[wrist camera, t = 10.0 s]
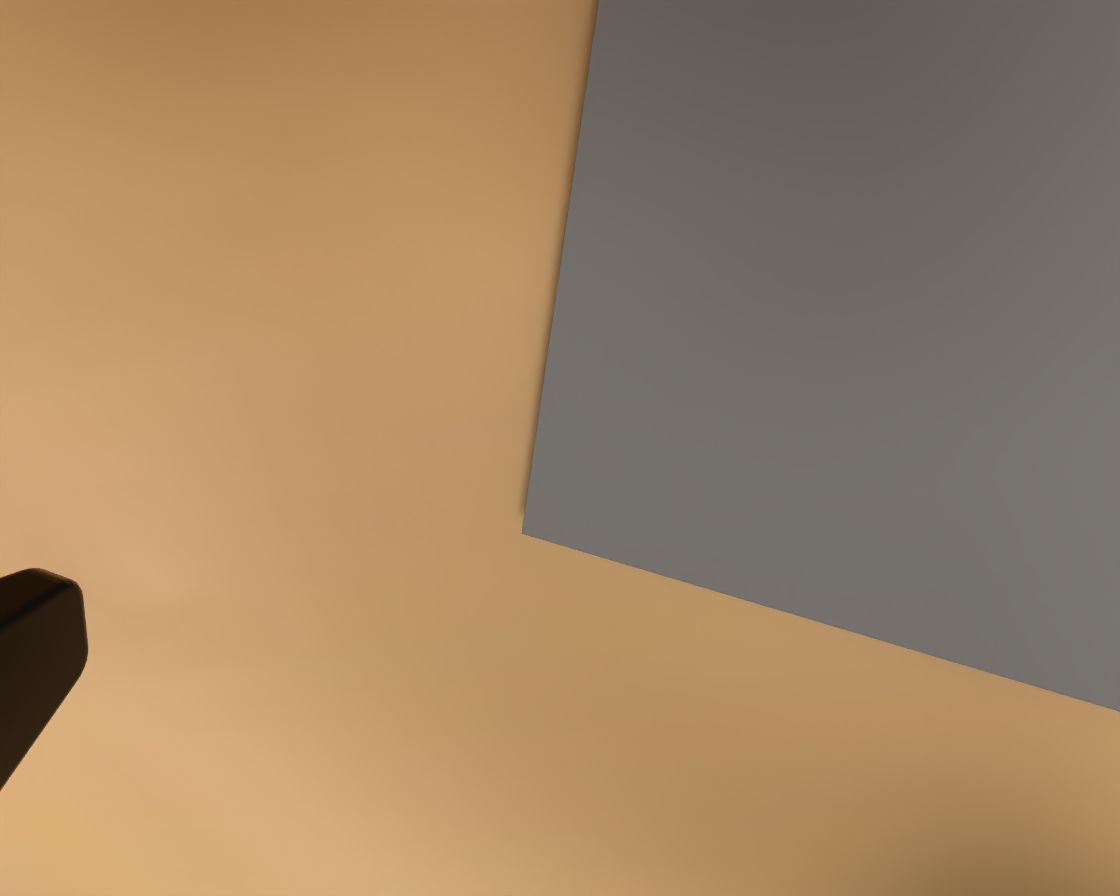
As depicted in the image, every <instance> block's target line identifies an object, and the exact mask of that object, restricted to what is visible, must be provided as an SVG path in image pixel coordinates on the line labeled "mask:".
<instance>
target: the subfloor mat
mask: <svg viewBox="0 0 1120 896" xmlns="http://www.w3.org/2000/svg"><path fill="white" fill-rule="evenodd" d="M522 534H525V535H529V536H532V537H535V538H539V539H542V540H545V541H549V542H552V543H555V544H559V545H562V546H566V547H569V548H572V549H576V550H579V551H582V552H586V553H589V554H592V555H596V556H599V557H602V558H606V559H609V560H613V561H616V562H619V563H623V564H626V565H629V566H633V567H636V568H639V569H643V570H646V571H650V572H653V573H656V574H660V575H663V576H666V577H670V578H673V579H676V580H680V581H683V582H687V583H690V584H693V585H697V586H700V587H703V588H707V589H710V590H713V591H717V592H720V593H723V594H727V595H730V596H734V597H737V598H740V599H744V600H747V601H750V602H754V603H757V604H760V605H764V606H767V607H771V608H774V609H777V610H781V611H784V612H787V613H791V614H794V615H797V616H801V617H804V618H808V619H811V620H814V621H818V622H821V623H824V624H828V625H831V626H834V627H838V628H841V629H844V630H848V631H851V632H855V633H858V634H861V635H865V636H868V637H871V638H875V639H878V640H881V641H885V642H888V643H892V644H895V645H898V646H902V647H905V648H908V649H912V650H915V651H918V652H922V653H925V654H929V655H932V656H935V657H939V658H942V659H945V660H949V661H952V662H955V663H959V664H962V665H965V666H969V667H972V668H976V669H979V670H982V671H986V672H989V673H992V674H996V675H999V676H1002V677H1006V678H1009V679H1013V680H1016V681H1019V682H1023V683H1026V684H1029V685H1033V686H1036V687H1039V688H1043V689H1046V690H1050V691H1053V692H1056V693H1060V694H1063V695H1066V696H1070V697H1073V698H1076V699H1080V700H1083V701H1086V702H1090V703H1093V704H1097V705H1100V706H1103V707H1107V708H1110V709H1113V710H1117V711H1120V0H599V1H598V8H597V15H596V22H595V29H594V36H593V43H592V50H591V57H590V64H589V71H588V78H587V84H586V91H585V98H584V105H583V112H582V119H581V126H580V133H579V140H578V147H577V154H576V161H575V168H574V175H573V181H572V188H571V195H570V202H569V209H568V216H567V223H566V230H565V237H564V244H563V251H562V258H561V265H560V272H559V278H558V285H557V292H556V299H555V306H554V313H553V320H552V327H551V334H550V341H549V348H548V355H547V362H546V369H545V375H544V382H543V389H542V396H541V403H540V410H539V417H538V424H537V431H536V438H535V445H534V452H533V459H532V466H531V472H530V479H529V486H528V493H527V500H526V507H525V514H524V521H523V528H522Z"/></svg>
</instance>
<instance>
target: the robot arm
mask: <svg viewBox="0 0 1120 896" xmlns="http://www.w3.org/2000/svg"><path fill="white" fill-rule="evenodd" d="M87 656H88V640H87V630H86V620H85V610H84V601H83V594H82V590H81V588H80V587H79V585H78V584H77V583H76V582H75V581H73V580H71V579H69V578H66V577H63V576H60V575H58V574H55V573H52V572H49V571H47V570H44V569H40V568H30V569H25V570H21V571H18V572H15V573H13V574H10V575H7V576H4V577H1V578H0V791H1V789H2V788H3V787H4V785H5V784H6V782H7V781H8V779H9V778H10V777H11V775H12V774H13V772H14V771H15V769H16V768H17V766H18V765H19V764H20V762H21V761H22V759H23V758H24V756H25V755H26V754H27V752H28V751H29V749H30V748H31V746H32V745H33V744H34V742H35V741H36V739H37V738H38V736H39V735H40V734H41V732H42V731H43V729H44V728H45V726H46V725H47V723H48V722H49V721H50V719H51V718H52V716H53V715H54V713H55V712H56V711H57V709H58V708H59V706H60V705H61V703H62V702H63V701H64V699H65V698H66V696H67V695H68V693H69V692H70V690H71V689H72V688H73V686H74V685H75V683H76V682H77V680H78V679H79V677H80V675H81V673H82V671H83V669H84V667H85V664H86V661H87Z"/></svg>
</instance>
